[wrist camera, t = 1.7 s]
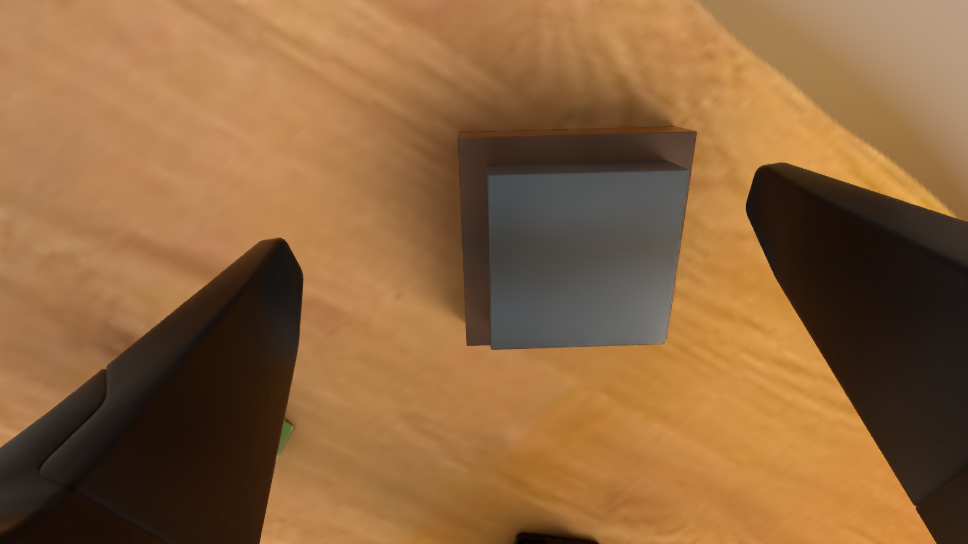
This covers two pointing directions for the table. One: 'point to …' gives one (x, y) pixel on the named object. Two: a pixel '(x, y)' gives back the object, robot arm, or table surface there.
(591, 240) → the block stack
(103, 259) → the table surface
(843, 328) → the robot arm
